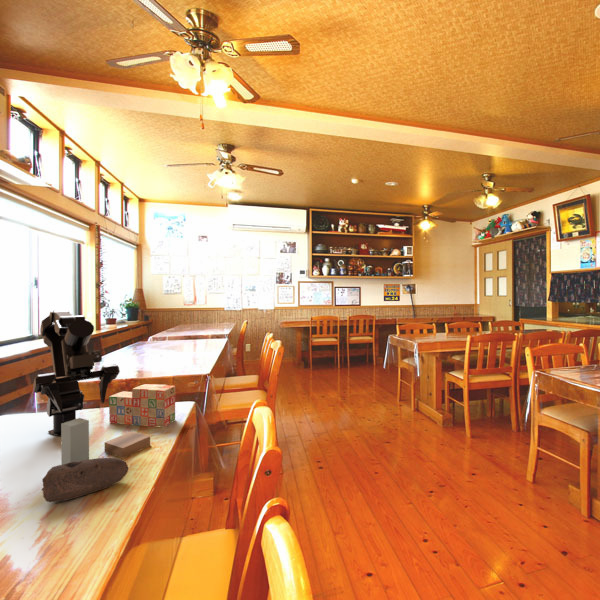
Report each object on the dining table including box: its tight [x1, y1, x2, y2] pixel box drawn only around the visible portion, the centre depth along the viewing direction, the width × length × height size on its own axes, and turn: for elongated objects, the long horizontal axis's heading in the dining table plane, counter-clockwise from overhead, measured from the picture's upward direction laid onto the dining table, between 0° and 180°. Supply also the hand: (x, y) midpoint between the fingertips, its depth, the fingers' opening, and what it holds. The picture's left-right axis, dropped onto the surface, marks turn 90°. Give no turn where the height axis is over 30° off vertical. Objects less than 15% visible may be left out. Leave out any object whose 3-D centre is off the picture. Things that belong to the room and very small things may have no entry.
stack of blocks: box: [108, 383, 176, 428], centre depth 105 cm, size 21×6×12 cm, turn 79°
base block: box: [104, 431, 151, 459], centre depth 85 cm, size 8×8×3 cm
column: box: [60, 417, 90, 465], centre depth 74 cm, size 4×4×12 cm
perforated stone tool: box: [41, 457, 129, 503], centre depth 66 cm, size 15×5×7 cm, turn 122°
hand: (83, 407), depth 81 cm, fingers open, 9 cm apart
